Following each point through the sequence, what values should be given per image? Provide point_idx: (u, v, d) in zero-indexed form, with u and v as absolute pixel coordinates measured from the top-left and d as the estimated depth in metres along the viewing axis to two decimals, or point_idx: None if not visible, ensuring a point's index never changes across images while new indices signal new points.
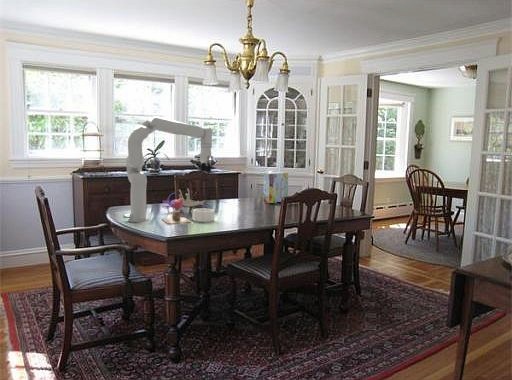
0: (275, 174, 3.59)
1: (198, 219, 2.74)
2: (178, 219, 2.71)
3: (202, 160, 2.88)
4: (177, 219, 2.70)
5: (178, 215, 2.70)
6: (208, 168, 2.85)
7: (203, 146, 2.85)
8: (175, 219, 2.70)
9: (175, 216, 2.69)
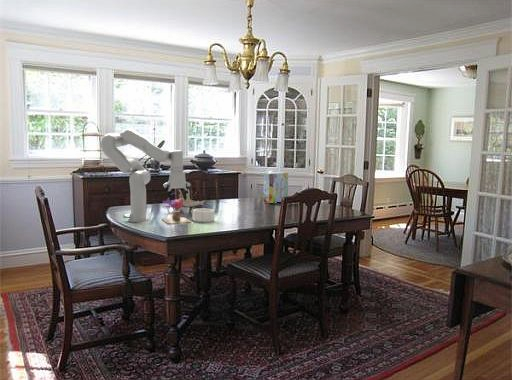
0: (275, 174, 3.59)
1: (198, 219, 2.74)
2: (178, 219, 2.71)
3: (179, 185, 2.67)
4: (177, 219, 2.70)
5: (178, 215, 2.70)
6: (186, 193, 2.72)
7: (182, 170, 2.67)
8: (175, 219, 2.70)
9: (175, 216, 2.69)
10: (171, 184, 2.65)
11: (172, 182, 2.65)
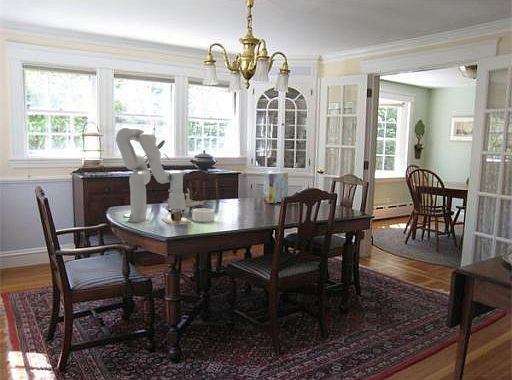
0: (275, 174, 3.60)
1: (198, 219, 2.74)
2: (178, 219, 2.71)
3: (179, 206, 2.69)
4: (177, 219, 2.70)
5: (178, 215, 2.70)
6: (181, 215, 2.73)
7: (181, 192, 2.68)
8: (175, 219, 2.70)
9: (175, 216, 2.69)
10: (170, 205, 2.67)
11: (171, 203, 2.67)
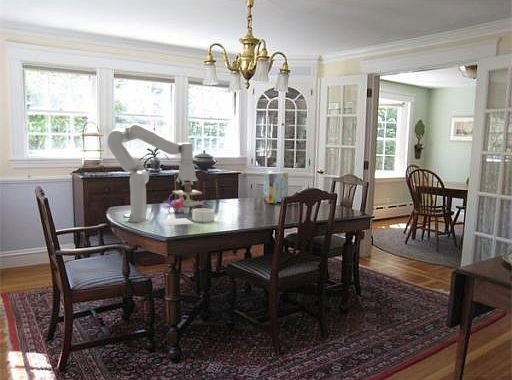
0: (275, 174, 3.59)
1: (198, 219, 2.74)
2: (189, 190, 2.71)
3: (189, 178, 2.69)
4: (188, 190, 2.71)
5: (189, 186, 2.71)
6: None
7: (191, 163, 2.69)
8: (186, 190, 2.70)
9: (186, 187, 2.70)
10: (181, 176, 2.67)
11: (182, 174, 2.67)
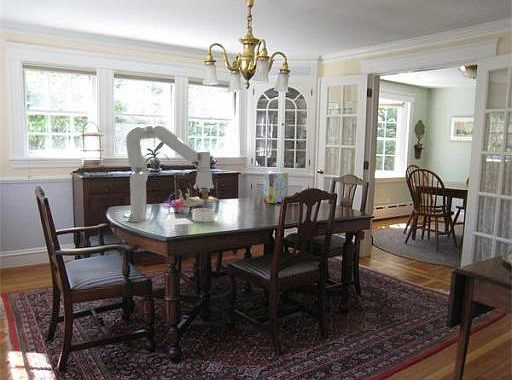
0: (275, 174, 3.59)
1: (198, 219, 2.74)
2: (206, 197, 2.77)
3: (206, 185, 2.75)
4: (205, 197, 2.77)
5: (206, 193, 2.77)
6: (208, 194, 2.79)
7: (209, 170, 2.75)
8: (203, 197, 2.76)
9: (203, 194, 2.76)
10: (198, 183, 2.73)
11: (199, 182, 2.73)
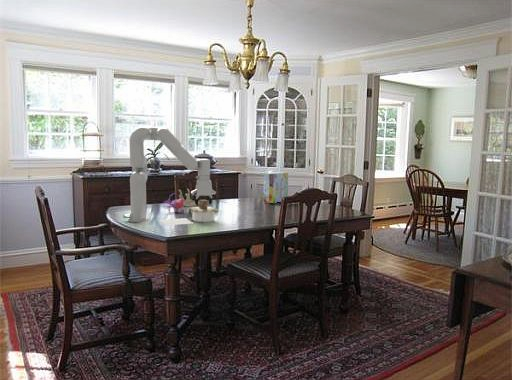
0: (275, 174, 3.59)
1: (198, 219, 2.74)
2: (205, 208, 2.78)
3: (206, 193, 2.76)
4: (204, 208, 2.77)
5: (205, 204, 2.77)
6: (211, 200, 2.81)
7: (208, 178, 2.76)
8: (202, 207, 2.77)
9: (202, 205, 2.77)
10: (198, 191, 2.74)
11: (199, 190, 2.74)
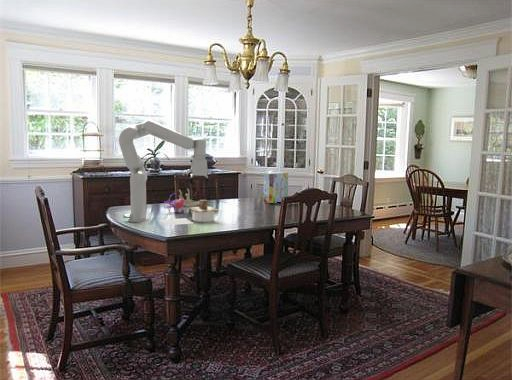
0: (275, 174, 3.59)
1: (198, 219, 2.74)
2: (205, 208, 2.78)
3: (201, 173, 2.75)
4: (204, 208, 2.77)
5: (205, 204, 2.77)
6: (207, 180, 2.80)
7: (204, 158, 2.74)
8: (202, 207, 2.77)
9: (202, 205, 2.77)
10: (193, 171, 2.72)
11: (194, 169, 2.72)
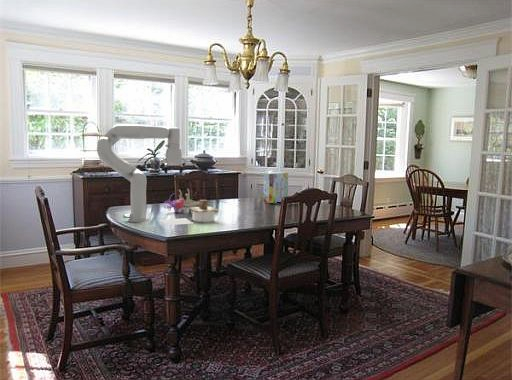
0: (275, 174, 3.59)
1: (198, 219, 2.74)
2: (205, 208, 2.78)
3: (176, 162, 2.76)
4: (204, 208, 2.77)
5: (205, 204, 2.77)
6: None
7: (178, 147, 2.75)
8: (202, 207, 2.77)
9: (202, 205, 2.77)
10: (167, 160, 2.73)
11: (168, 158, 2.74)
